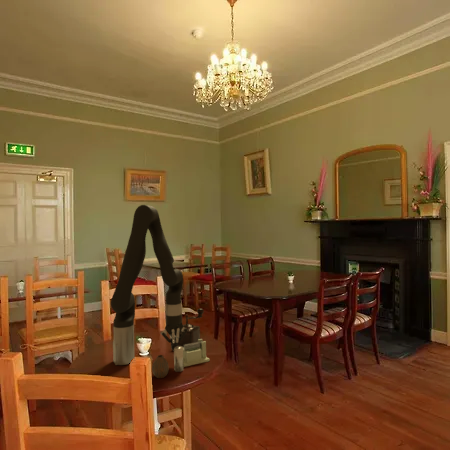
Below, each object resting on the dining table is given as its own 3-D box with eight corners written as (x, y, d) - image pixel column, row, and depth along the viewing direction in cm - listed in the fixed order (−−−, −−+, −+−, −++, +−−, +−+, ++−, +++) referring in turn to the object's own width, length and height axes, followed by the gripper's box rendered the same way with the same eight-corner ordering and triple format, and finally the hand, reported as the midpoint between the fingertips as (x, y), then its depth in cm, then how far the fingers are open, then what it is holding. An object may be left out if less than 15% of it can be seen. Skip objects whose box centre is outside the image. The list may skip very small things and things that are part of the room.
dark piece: (192, 350, 182) (192, 315, 182) (173, 347, 187) (173, 313, 186) (205, 340, 197) (205, 307, 196) (188, 338, 201) (187, 306, 201)
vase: (169, 372, 157) (169, 352, 156) (167, 379, 150) (167, 358, 150) (153, 372, 156) (153, 353, 156) (151, 380, 150) (150, 359, 149)
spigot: (176, 372, 156) (175, 349, 156) (173, 369, 160) (172, 346, 160) (184, 370, 158) (184, 348, 158) (181, 367, 162) (181, 345, 162)
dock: (183, 366, 162) (183, 348, 162) (175, 359, 171) (175, 341, 171) (209, 361, 168) (209, 343, 168) (200, 354, 177) (200, 337, 177)
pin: (185, 350, 167) (185, 346, 167) (183, 348, 169) (183, 344, 169) (204, 346, 172) (204, 342, 171) (203, 345, 173) (203, 341, 173)
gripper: (162, 317, 159) (163, 355, 159) (190, 312, 165) (191, 350, 165) (157, 313, 165) (158, 350, 166) (184, 309, 171) (185, 345, 172)
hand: (174, 350), depth 165 cm, fingers closed
